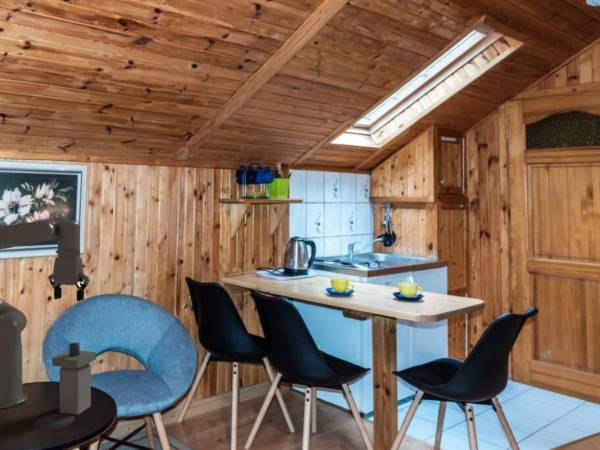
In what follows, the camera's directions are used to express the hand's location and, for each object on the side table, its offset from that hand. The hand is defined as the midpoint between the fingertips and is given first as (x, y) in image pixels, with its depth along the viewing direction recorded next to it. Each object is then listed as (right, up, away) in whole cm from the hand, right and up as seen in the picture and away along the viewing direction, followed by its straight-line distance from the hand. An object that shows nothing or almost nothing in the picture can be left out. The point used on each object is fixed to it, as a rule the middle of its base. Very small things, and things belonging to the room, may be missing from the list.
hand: (68, 299), depth 180 cm
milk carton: (+8, -37, -11) cm, 40 cm away
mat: (+5, -37, -21) cm, 43 cm away
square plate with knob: (+8, -20, -12) cm, 25 cm away
